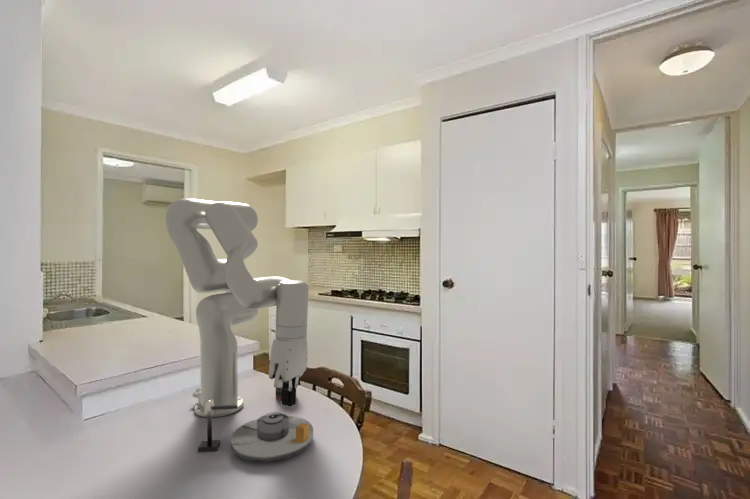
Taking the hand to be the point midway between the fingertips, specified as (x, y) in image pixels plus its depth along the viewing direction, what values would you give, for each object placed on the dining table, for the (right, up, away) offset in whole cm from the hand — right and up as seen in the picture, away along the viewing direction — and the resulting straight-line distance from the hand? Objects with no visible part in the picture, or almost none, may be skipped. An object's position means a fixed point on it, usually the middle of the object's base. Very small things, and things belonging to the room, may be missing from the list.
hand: (288, 404), depth 96 cm
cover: (-2, -3, -8) cm, 9 cm away
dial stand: (-14, -6, -9) cm, 17 cm away
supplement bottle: (-5, -6, +20) cm, 22 cm away
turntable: (-2, -5, -7) cm, 9 cm away
